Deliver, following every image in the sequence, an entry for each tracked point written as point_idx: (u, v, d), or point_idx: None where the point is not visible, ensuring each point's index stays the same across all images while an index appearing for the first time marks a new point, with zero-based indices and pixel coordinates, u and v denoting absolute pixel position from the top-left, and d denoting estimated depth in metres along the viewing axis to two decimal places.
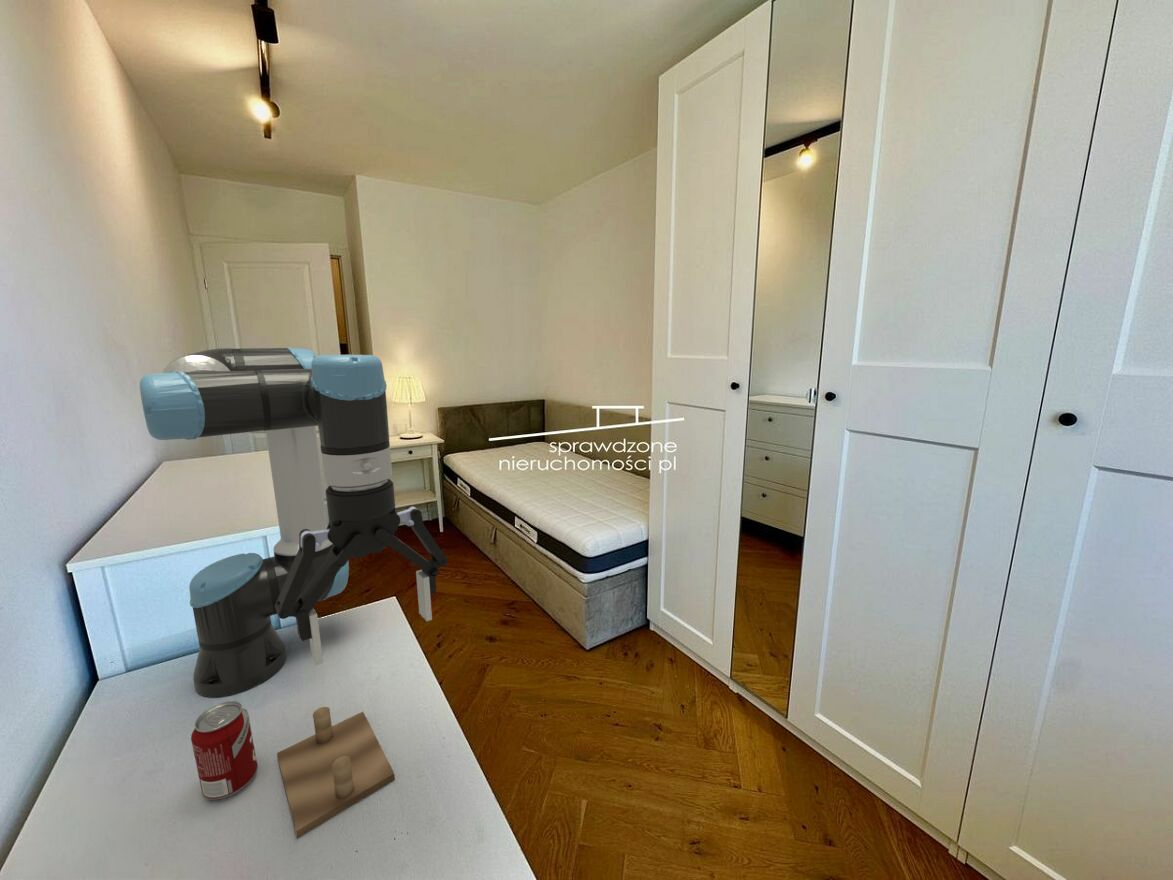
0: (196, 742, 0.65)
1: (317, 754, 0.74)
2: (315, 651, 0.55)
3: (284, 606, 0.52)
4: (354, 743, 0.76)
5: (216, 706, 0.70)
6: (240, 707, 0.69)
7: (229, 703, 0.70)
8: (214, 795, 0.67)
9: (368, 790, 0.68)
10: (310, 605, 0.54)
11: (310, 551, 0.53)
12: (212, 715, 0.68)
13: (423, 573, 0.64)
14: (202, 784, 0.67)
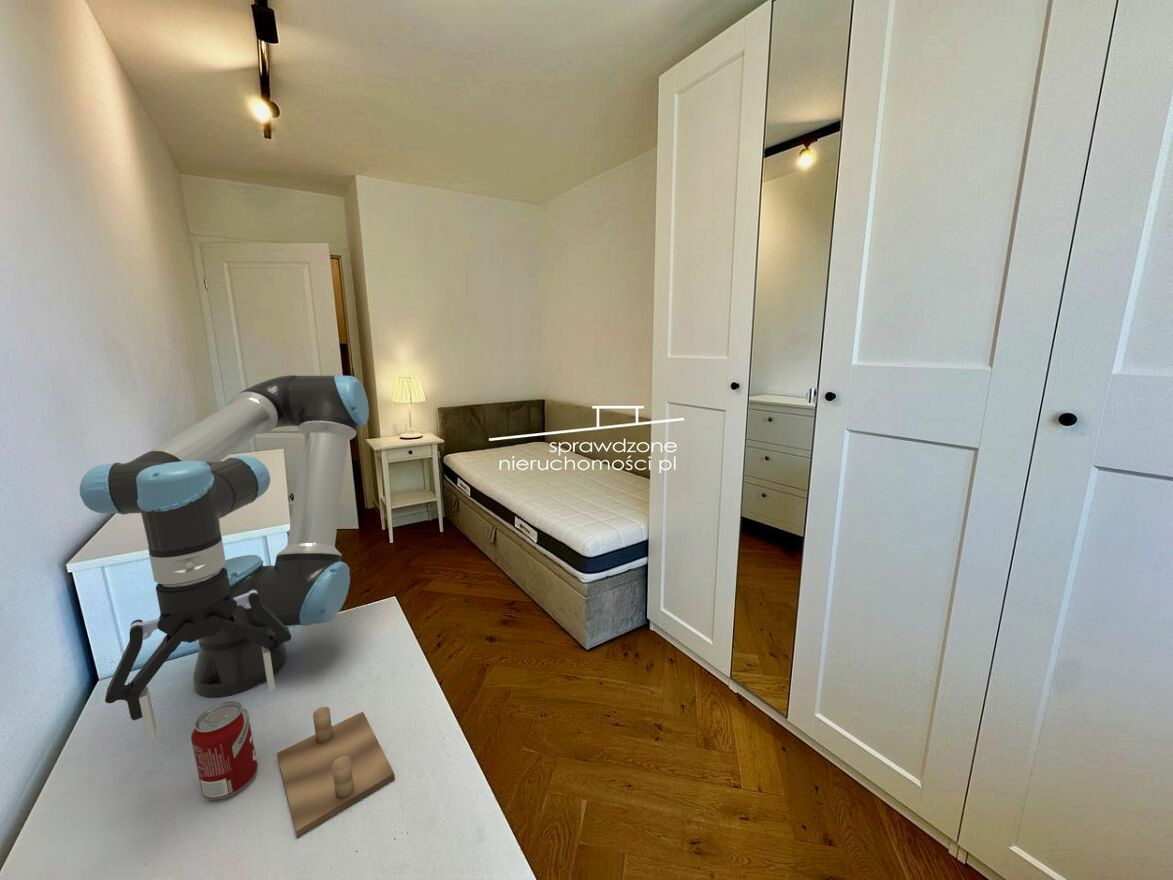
0: (196, 742, 0.65)
1: (317, 754, 0.74)
2: (146, 729, 0.61)
3: (111, 692, 0.58)
4: (354, 743, 0.76)
5: (216, 706, 0.70)
6: (240, 707, 0.69)
7: (229, 703, 0.70)
8: (214, 795, 0.67)
9: (368, 790, 0.68)
10: (138, 689, 0.60)
11: (137, 641, 0.59)
12: (212, 715, 0.68)
13: (267, 648, 0.70)
14: (202, 784, 0.67)
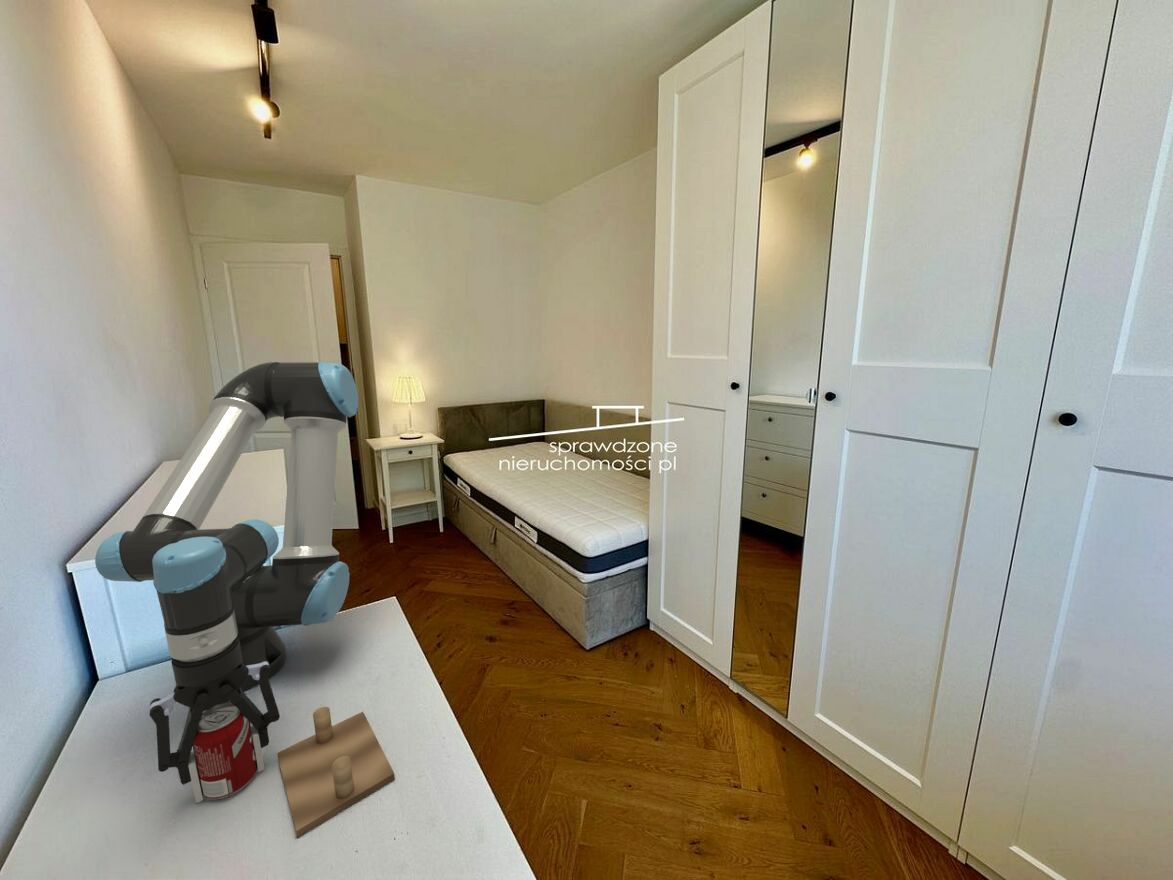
0: (196, 742, 0.65)
1: (317, 754, 0.74)
2: (194, 792, 0.66)
3: (160, 763, 0.63)
4: (354, 743, 0.76)
5: (216, 706, 0.70)
6: None
7: (229, 703, 0.70)
8: (214, 794, 0.67)
9: (368, 790, 0.68)
10: (185, 756, 0.65)
11: (161, 719, 0.62)
12: (212, 715, 0.68)
13: (255, 729, 0.71)
14: (202, 784, 0.67)
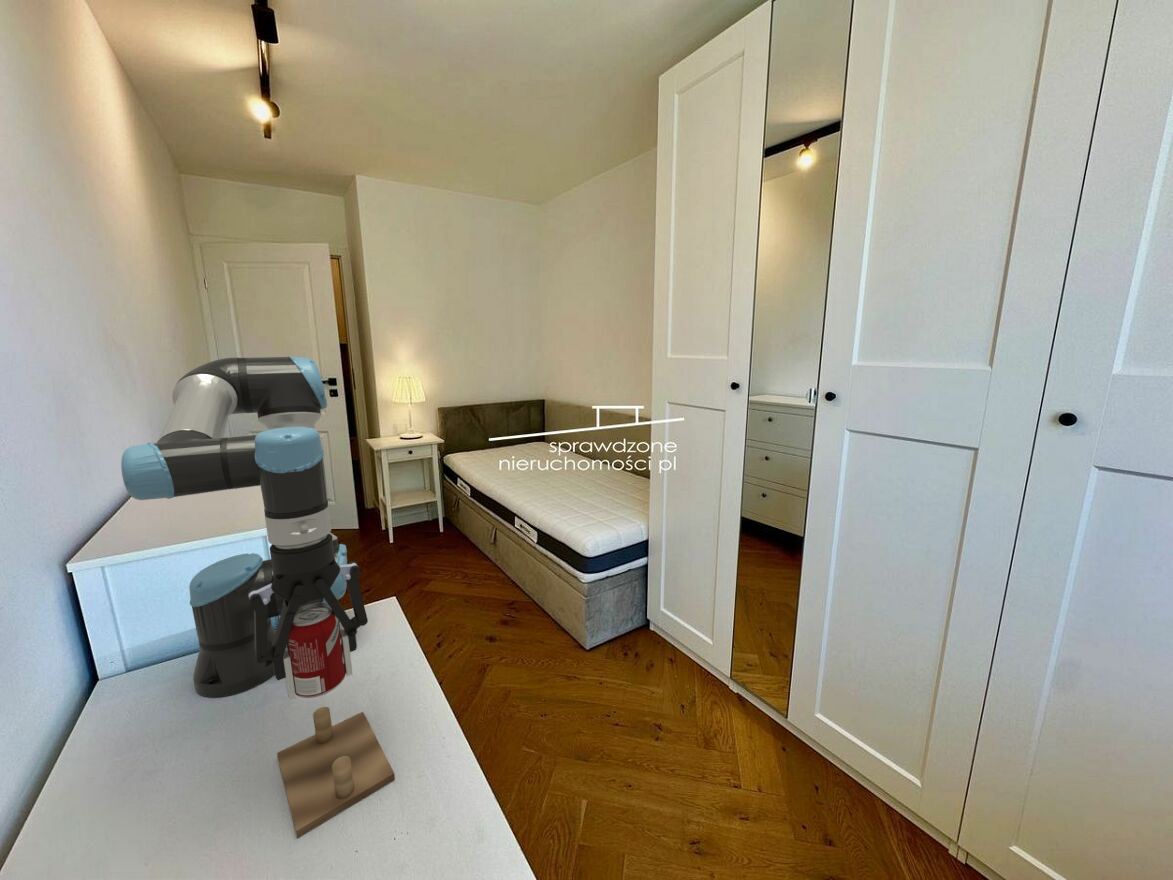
0: (292, 636, 0.64)
1: (317, 754, 0.74)
2: (288, 688, 0.65)
3: (258, 653, 0.62)
4: (354, 743, 0.76)
5: (306, 606, 0.68)
6: None
7: (318, 605, 0.69)
8: (308, 692, 0.65)
9: (368, 790, 0.68)
10: (281, 650, 0.64)
11: (260, 607, 0.61)
12: (304, 614, 0.67)
13: (344, 632, 0.70)
14: (296, 681, 0.65)
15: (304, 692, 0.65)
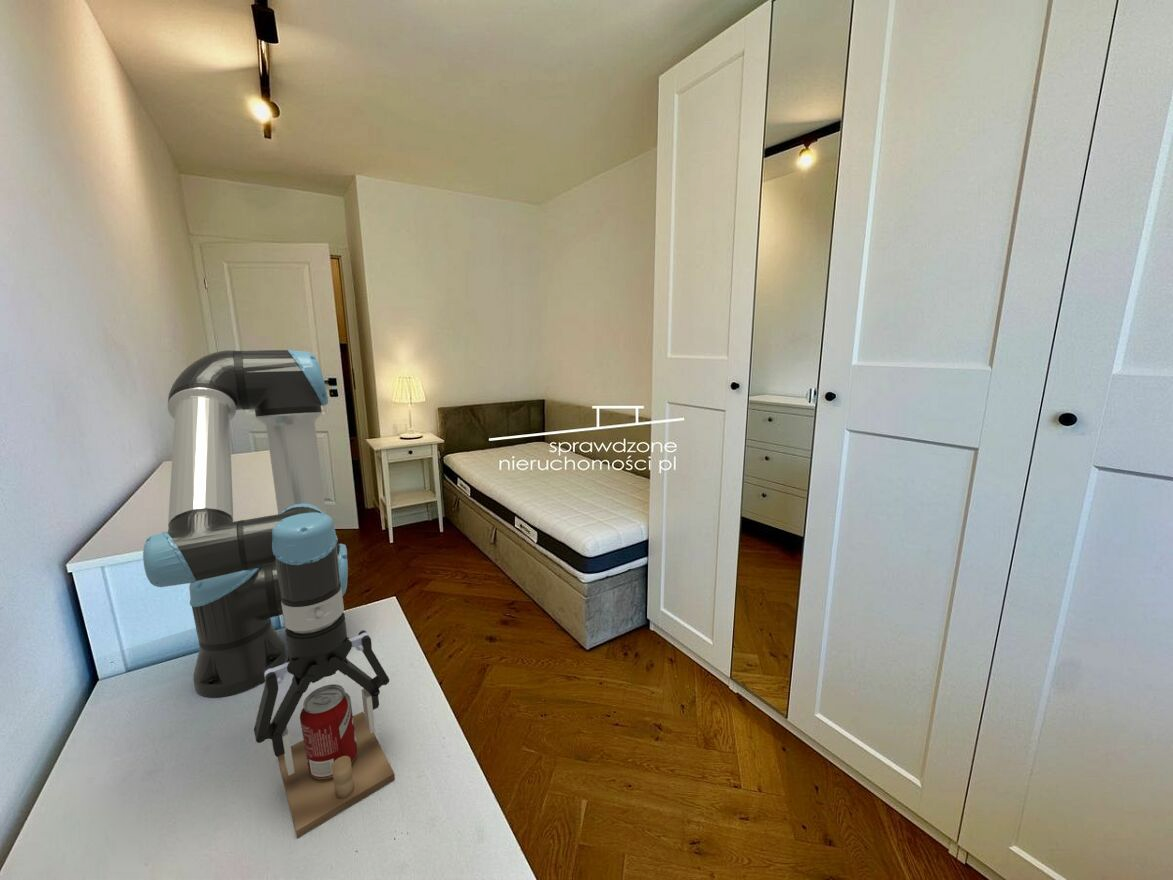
0: (307, 723, 0.67)
1: None
2: (287, 764, 0.66)
3: (259, 733, 0.63)
4: None
5: (319, 689, 0.71)
6: (342, 690, 0.71)
7: (330, 686, 0.72)
8: (322, 774, 0.69)
9: (368, 790, 0.68)
10: (281, 728, 0.65)
11: (273, 687, 0.64)
12: (317, 698, 0.70)
13: (367, 691, 0.74)
14: (311, 764, 0.69)
15: (319, 774, 0.69)
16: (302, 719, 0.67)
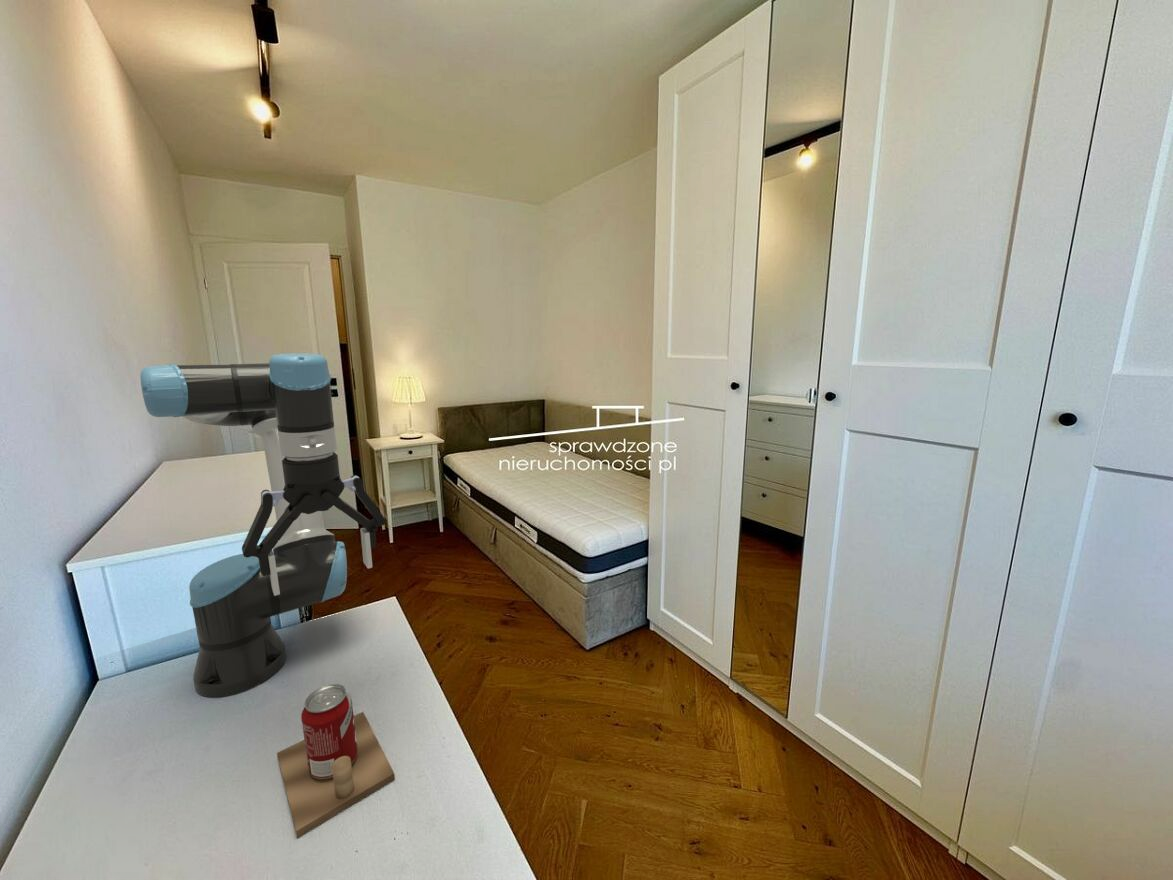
0: (308, 722, 0.67)
1: None
2: (273, 584, 0.71)
3: (247, 548, 0.68)
4: None
5: (320, 688, 0.72)
6: (344, 689, 0.71)
7: (331, 686, 0.72)
8: (323, 774, 0.69)
9: (368, 790, 0.68)
10: (268, 548, 0.69)
11: (268, 506, 0.68)
12: (319, 697, 0.70)
13: (365, 530, 0.79)
14: (311, 764, 0.69)
15: (319, 774, 0.69)
16: (303, 718, 0.68)
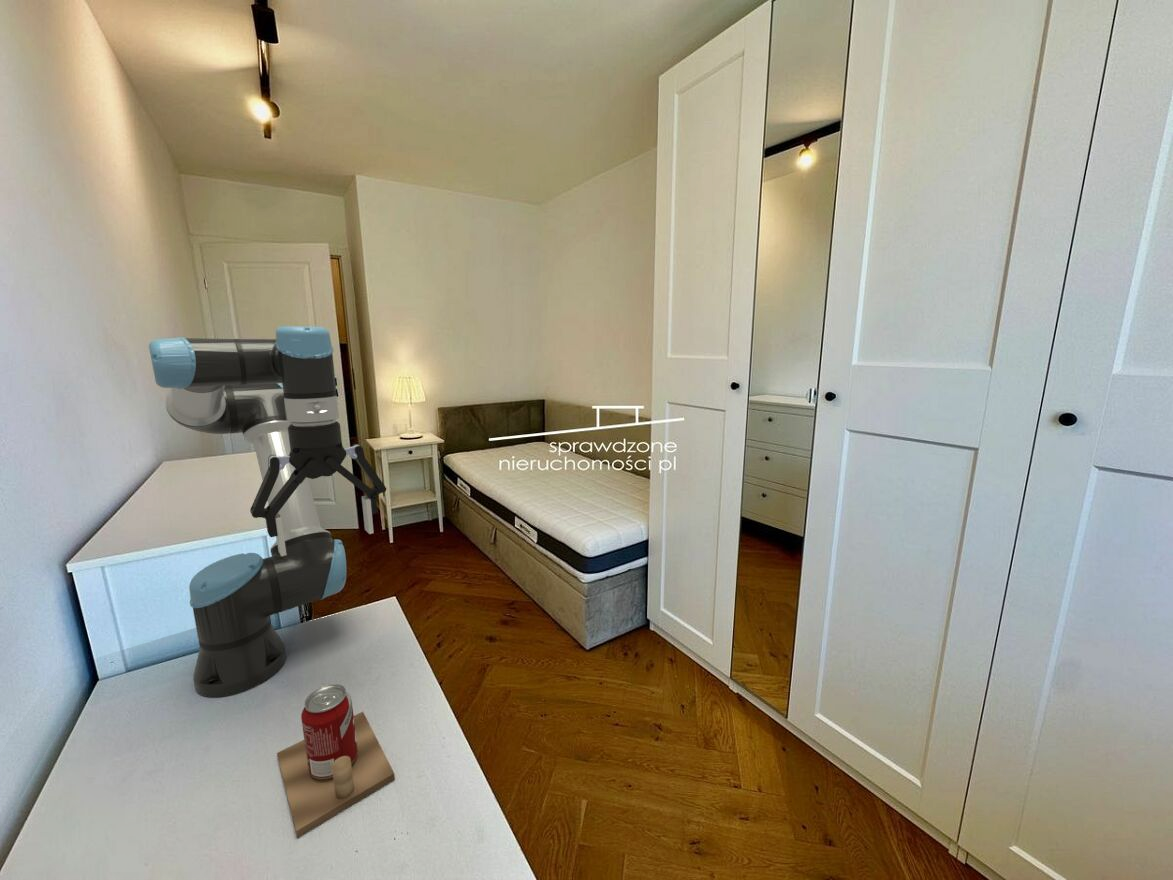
0: (308, 722, 0.67)
1: None
2: (280, 545, 0.74)
3: (256, 508, 0.72)
4: None
5: (320, 688, 0.72)
6: (344, 689, 0.71)
7: (331, 686, 0.72)
8: (323, 774, 0.69)
9: (368, 790, 0.68)
10: (275, 510, 0.73)
11: (275, 469, 0.72)
12: (318, 697, 0.70)
13: (366, 497, 0.84)
14: (311, 764, 0.69)
15: (319, 774, 0.69)
16: (303, 718, 0.68)
